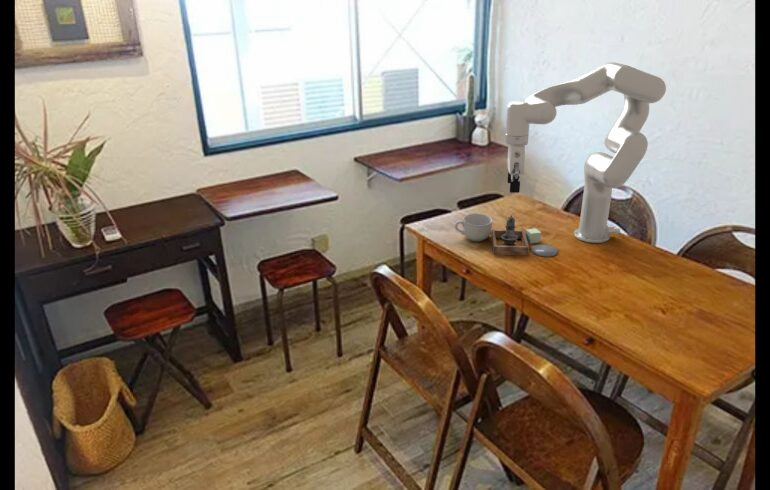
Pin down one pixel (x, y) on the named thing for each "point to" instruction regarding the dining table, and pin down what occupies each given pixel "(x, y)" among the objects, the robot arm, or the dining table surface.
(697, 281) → the dining table surface
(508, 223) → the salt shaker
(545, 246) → the slate coaster
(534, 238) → the sage block
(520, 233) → the walnut corral
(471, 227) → the teacup
